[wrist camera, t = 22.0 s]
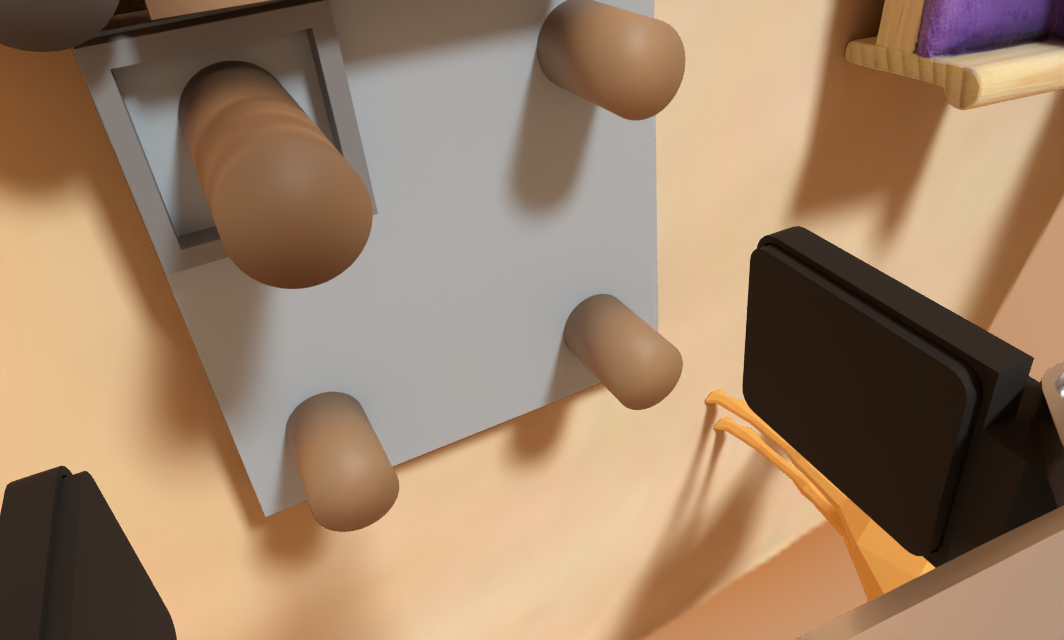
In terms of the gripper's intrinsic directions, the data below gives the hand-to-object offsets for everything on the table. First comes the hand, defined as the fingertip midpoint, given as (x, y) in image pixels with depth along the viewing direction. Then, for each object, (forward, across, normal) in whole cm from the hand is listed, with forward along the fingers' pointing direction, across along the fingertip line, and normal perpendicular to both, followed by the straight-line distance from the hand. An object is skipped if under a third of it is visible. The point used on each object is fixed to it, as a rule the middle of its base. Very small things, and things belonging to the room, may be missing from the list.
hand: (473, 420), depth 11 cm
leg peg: (+15, +1, 0) cm, 15 cm away
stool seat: (+17, -4, +5) cm, 18 cm away
